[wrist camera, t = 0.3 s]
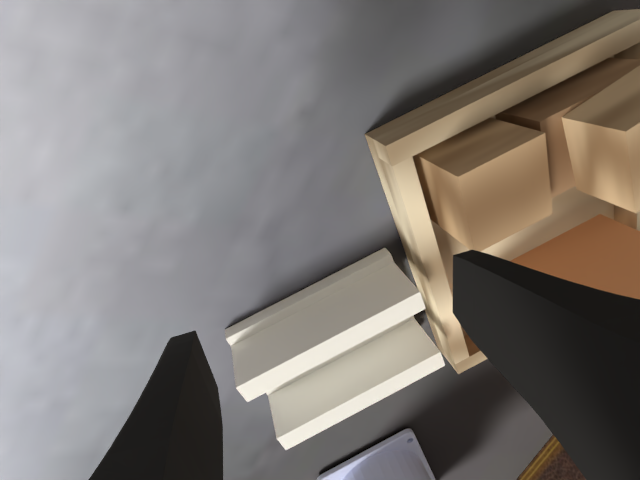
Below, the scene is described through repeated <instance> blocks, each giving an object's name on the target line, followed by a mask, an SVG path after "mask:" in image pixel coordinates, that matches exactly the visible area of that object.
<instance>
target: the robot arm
mask: <svg viewBox="0 0 640 480" xmlns="http://www.w3.org/2000/svg"><path fill="white" fill-rule="evenodd" d="M453 314H454V315H455V317H456V318H457V320H458V321H459V323H460V324H461V326H462V328H463V329H464V330H465V332H466V333H467V335H468V336H469V337H470V339H471V340H472V341H473V343H474V344H475V345H476V346H477V347H478V348H479V349H480V351H481V352H482V353H483V354H484V355H485V356H486V357H487V358H488V359H489V361H490V362H491V363H492V364H493V365H494V366H495V367H496V368H497V369H498V370H499V372H500V373H501V374H502V375H503V376H504V377H505V378H506V379H507V380H508V381H509V383H510V384H511V385H512V386H513V387H514V388H515V389H516V390H517V391H518V392H519V393H520V395H521V396H522V397H523V398H524V399H525V400H526V401H527V402H528V403H529V404H530V406H531V407H532V408H533V409H534V410H535V412H536V413H537V414H538V415H539V416H540V417H541V419H542V420H543V421H544V423H545V424H546V425H547V427H548V428H549V429H550V431H551V432H552V433H553V435H554V436H555V437H556V439H557V440H558V441H559V443H560V444H561V445H562V447H563V448H564V449H565V451H566V452H567V453H568V455H569V456H570V458H571V459H572V460H573V462H574V463H575V465H576V466H577V467H578V469H579V470H580V472H581V473H582V474H583V476H584V477H585V479H586V480H640V299H636V298H631V297H627V296H622V295H618V294H614V293H610V292H606V291H602V290H599V289H595V288H592V287H588V286H585V285H581V284H578V283H574V282H571V281H568V280H565V279H561V278H558V277H555V276H552V275H549V274H546V273H543V272H540V271H537V270H534V269H531V268H528V267H525V266H522V265H519V264H516V263H514V262H511V261H508V260H505V259H502V258H499V257H496V256H493V255H490V254H487V253H483V252H480V251H476V250H469V251H466V252H462V253H459V254H455V255H453ZM89 480H223V427H222V417H221V408H220V401H219V393H218V387H217V384H216V382H215V379H214V377H213V374H212V372H211V369H210V366H209V364H208V361H207V359H206V356H205V354H204V351H203V349H202V346H201V344H200V341H199V339H198V336H197V334H196V331H192V332H189V333H186V334H182V335H179V336H175V337H172V338H170V340H169V342H168V343H167V345H166V347H165V349H164V351H163V353H162V355H161V357H160V359H159V362H158V364H157V366H156V368H155V370H154V371H153V373H152V375H151V377H150V379H149V381H148V383H147V385H146V387H145V389H144V391H143V392H142V394H141V396H140V398H139V400H138V402H137V403H136V405H135V407H134V409H133V411H132V412H131V414H130V416H129V418H128V419H127V421H126V423H125V424H124V426H123V427H122V429H121V431H120V432H119V434H118V436H117V437H116V439H115V441H114V442H113V444H112V446H111V447H110V449H109V450H108V452H107V453H106V455H105V456H104V458H103V459H102V461H101V462H100V464H99V465H98V467H97V468H96V470H95V471H94V473H93V474H92V476H91V477H90V479H89ZM317 480H436V479H435V477H434V475H433V473H432V471H431V469H430V467H429V464H428V462H427V460H426V458H425V456H424V454H423V452H422V449H421V447H420V445H419V443H418V441H417V439H416V437H415V434H414V433H413V431H412V429H409V428H408V429H404V430H403V431H401V432H399V433H397V434H395V435H393V436H391V437H390V438H388V439H386V440H384V441H382V442H380V443H378V444H377V445H375V446H373V447H371V448H369V449H367V450H365V451H364V452H362V453H360V454H358V455H356V456H354V457H352V458H351V459H349V460H347V461H345V462H343V463H341V464H339V465H338V466H336V467H334V468H332V469H330V470H328V471H326V472H325V473H323V474H321V475H320V476H319V477H318V479H317Z"/></svg>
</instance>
